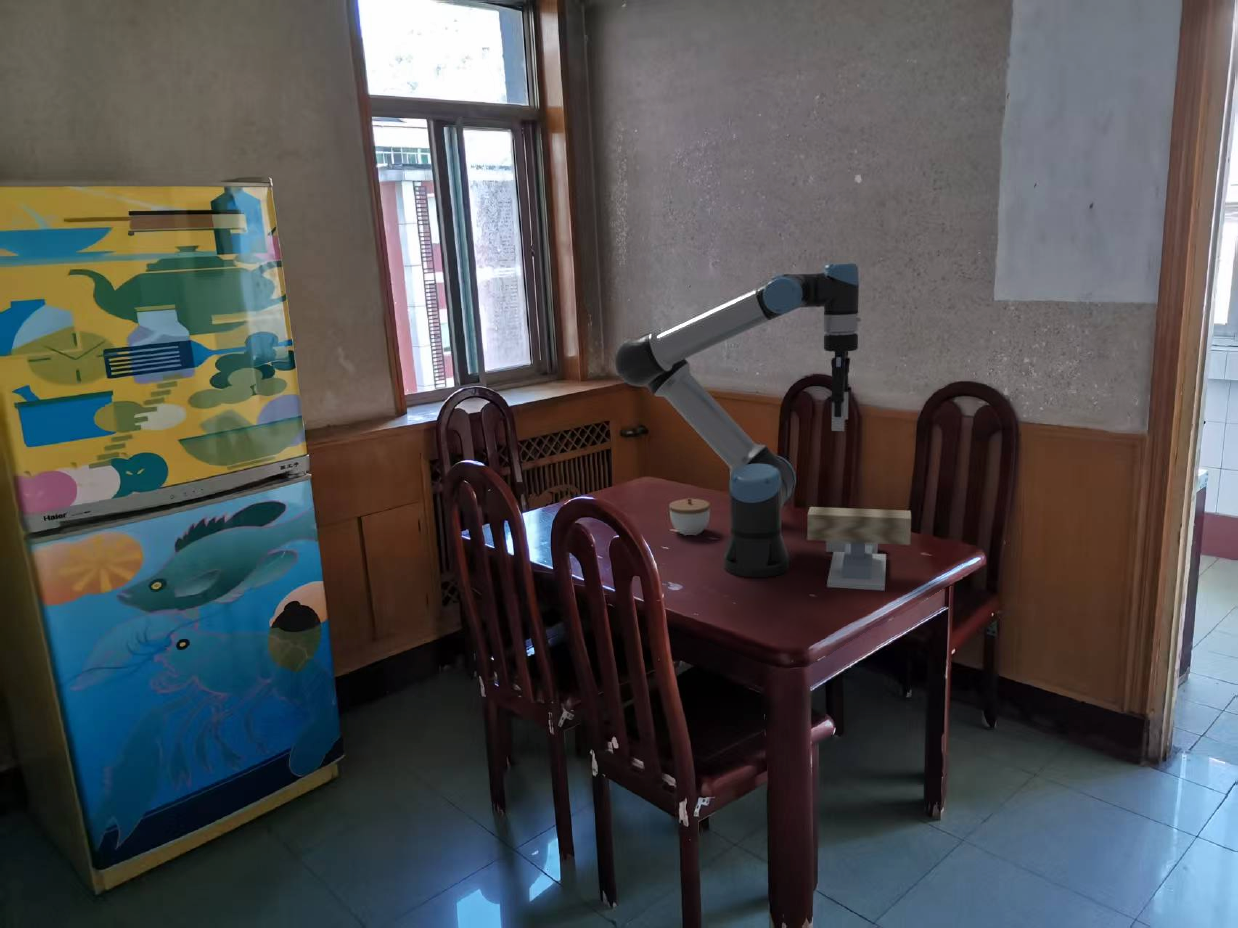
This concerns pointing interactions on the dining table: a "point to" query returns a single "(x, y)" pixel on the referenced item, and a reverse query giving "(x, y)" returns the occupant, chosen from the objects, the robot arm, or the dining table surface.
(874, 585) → the fulcrum stand
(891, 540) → the pine batten
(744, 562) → the robot arm
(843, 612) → the dining table surface
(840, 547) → the slab
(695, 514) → the lidded jar
